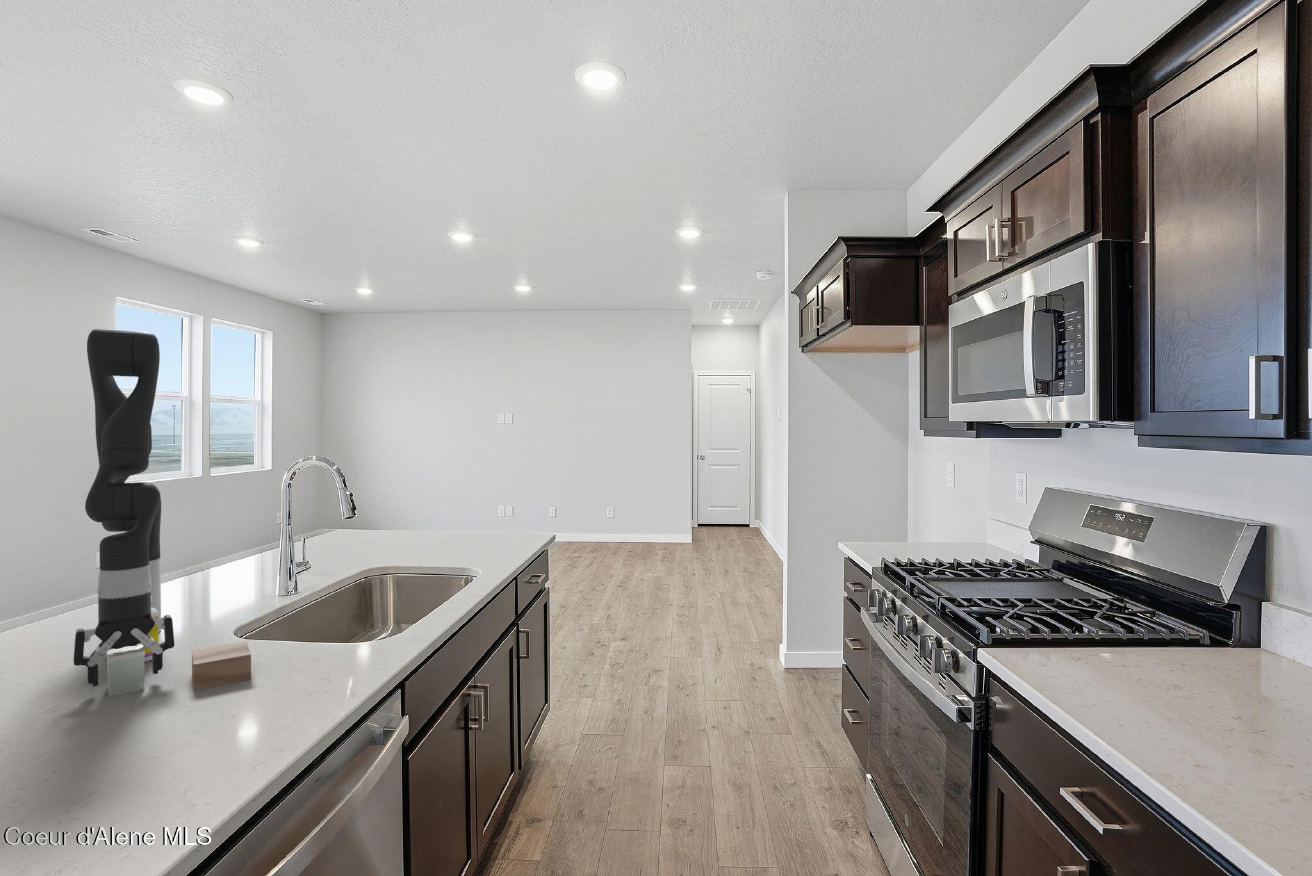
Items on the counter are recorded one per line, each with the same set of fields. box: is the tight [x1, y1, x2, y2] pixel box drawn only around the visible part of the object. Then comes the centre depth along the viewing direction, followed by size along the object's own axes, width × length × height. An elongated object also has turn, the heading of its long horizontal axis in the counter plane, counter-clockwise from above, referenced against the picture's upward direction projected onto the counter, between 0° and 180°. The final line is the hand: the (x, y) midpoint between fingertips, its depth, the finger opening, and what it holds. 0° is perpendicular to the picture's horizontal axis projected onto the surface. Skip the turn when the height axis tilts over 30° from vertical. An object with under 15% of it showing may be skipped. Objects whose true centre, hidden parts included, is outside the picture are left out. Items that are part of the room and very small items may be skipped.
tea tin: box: [106, 644, 146, 697], centre depth 119 cm, size 5×5×7 cm
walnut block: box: [191, 641, 252, 691], centre depth 125 cm, size 9×9×5 cm
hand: (125, 678), depth 119 cm, fingers open, 8 cm apart
